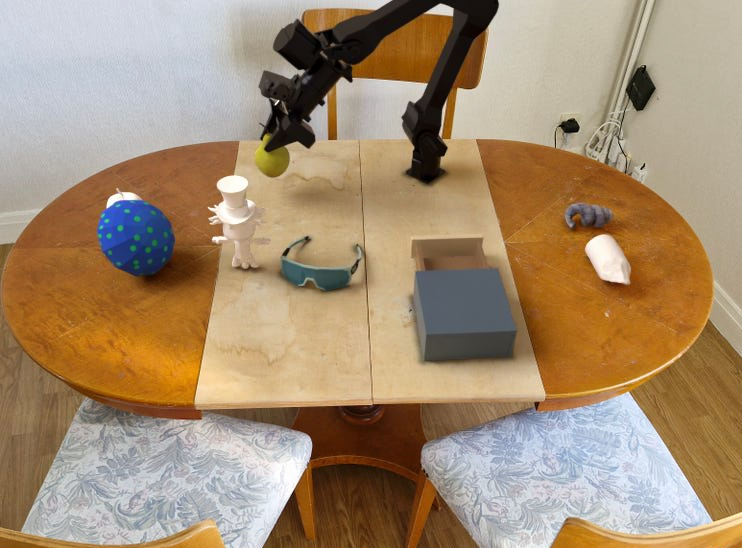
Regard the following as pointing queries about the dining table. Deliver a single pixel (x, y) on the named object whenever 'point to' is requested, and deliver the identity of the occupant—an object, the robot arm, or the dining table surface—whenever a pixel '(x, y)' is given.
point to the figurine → (238, 219)
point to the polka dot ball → (136, 237)
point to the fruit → (271, 159)
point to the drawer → (448, 252)
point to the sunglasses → (317, 271)
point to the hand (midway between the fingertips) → (263, 145)
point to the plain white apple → (122, 197)
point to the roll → (608, 259)
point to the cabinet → (463, 314)
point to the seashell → (588, 215)
